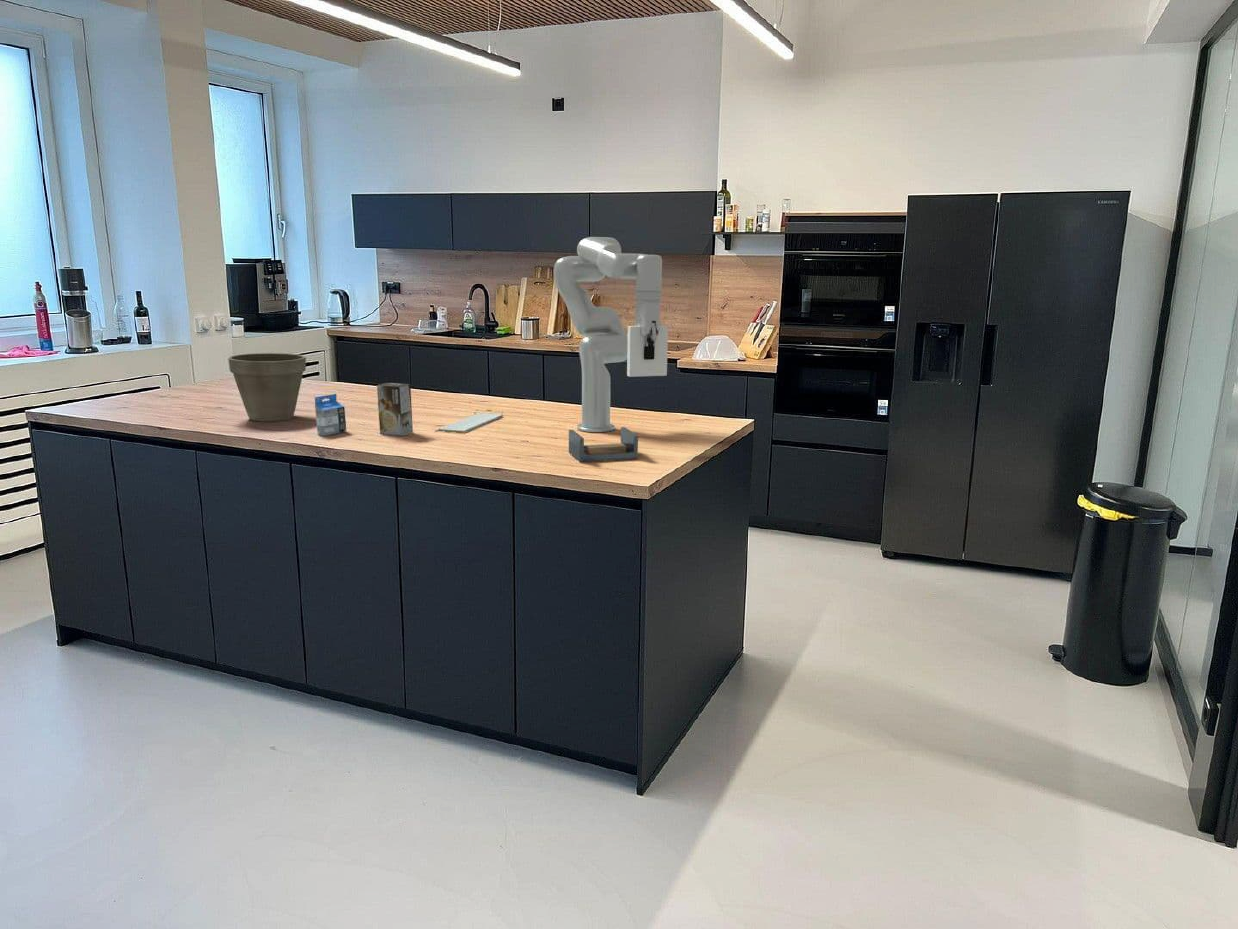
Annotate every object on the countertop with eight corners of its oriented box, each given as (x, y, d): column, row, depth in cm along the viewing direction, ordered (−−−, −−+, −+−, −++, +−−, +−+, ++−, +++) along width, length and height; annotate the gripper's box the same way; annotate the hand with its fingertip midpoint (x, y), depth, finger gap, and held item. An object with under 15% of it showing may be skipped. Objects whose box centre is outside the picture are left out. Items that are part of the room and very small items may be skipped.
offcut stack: (579, 458, 253) (579, 445, 252) (622, 456, 257) (622, 442, 256) (583, 462, 249) (583, 448, 248) (626, 459, 252) (626, 446, 252)
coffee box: (414, 432, 284) (411, 383, 280) (402, 436, 278) (400, 386, 274) (390, 430, 287) (388, 382, 283) (378, 433, 281) (375, 384, 277)
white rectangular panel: (627, 375, 264) (627, 325, 260) (663, 374, 267) (665, 325, 264) (629, 376, 262) (630, 326, 258) (666, 375, 265) (668, 326, 262)
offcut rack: (568, 452, 258) (568, 429, 256) (624, 449, 263) (624, 427, 262) (579, 462, 247) (579, 438, 245) (637, 459, 252) (638, 435, 250)
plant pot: (323, 413, 314) (318, 353, 309) (286, 426, 291) (281, 361, 286) (260, 410, 319) (254, 351, 313) (218, 422, 295) (212, 359, 290)
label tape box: (325, 436, 276) (322, 398, 273) (316, 434, 278) (314, 397, 275) (346, 431, 284) (344, 394, 281) (338, 430, 286) (335, 393, 283)
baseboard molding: (430, 432, 287) (463, 435, 284) (430, 424, 286) (463, 426, 283) (472, 416, 316) (503, 418, 312) (472, 408, 315) (503, 410, 312)
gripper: (628, 295, 265) (627, 355, 270) (645, 298, 250) (644, 362, 255) (651, 295, 267) (650, 355, 272) (670, 298, 252) (668, 361, 257)
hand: (647, 358), depth 263 cm, fingers closed on white rectangular panel, 2 cm apart
